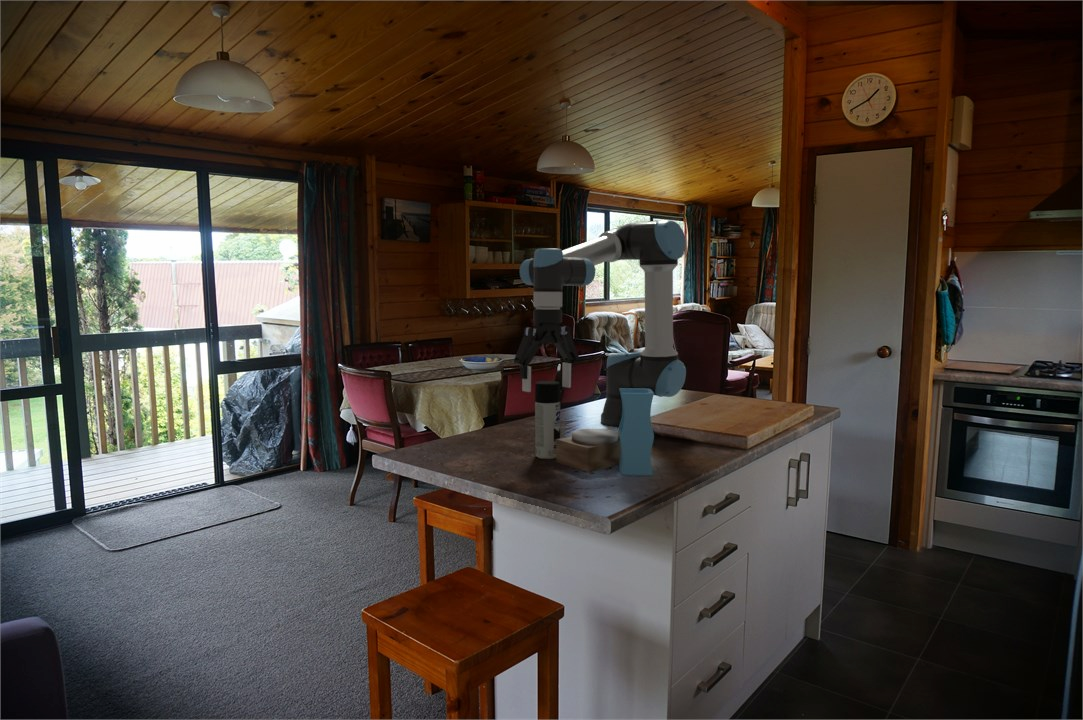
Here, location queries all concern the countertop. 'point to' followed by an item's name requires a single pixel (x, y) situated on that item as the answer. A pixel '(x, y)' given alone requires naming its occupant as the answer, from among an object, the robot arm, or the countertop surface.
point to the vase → (636, 432)
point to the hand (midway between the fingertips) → (546, 389)
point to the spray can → (547, 418)
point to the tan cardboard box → (589, 449)
